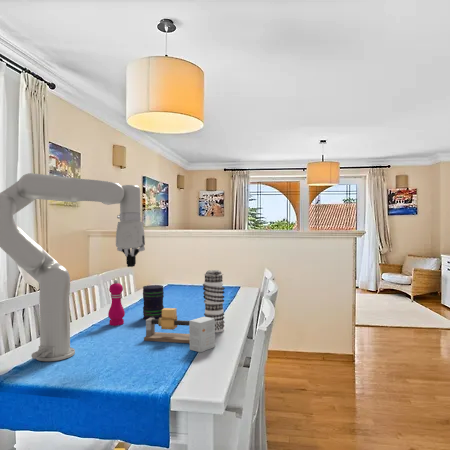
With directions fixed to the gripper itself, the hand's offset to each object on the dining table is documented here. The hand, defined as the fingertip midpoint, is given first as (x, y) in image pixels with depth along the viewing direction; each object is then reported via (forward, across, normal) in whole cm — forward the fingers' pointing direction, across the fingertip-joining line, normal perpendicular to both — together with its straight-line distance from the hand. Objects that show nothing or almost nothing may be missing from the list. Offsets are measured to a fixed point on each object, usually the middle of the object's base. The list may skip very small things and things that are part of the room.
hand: (131, 266), depth 152 cm
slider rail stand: (+29, +14, +8) cm, 33 cm away
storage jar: (+29, -8, +40) cm, 50 cm away
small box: (+29, +28, -1) cm, 41 cm away
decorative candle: (+29, +26, +24) cm, 46 cm away
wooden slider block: (+25, +12, +8) cm, 29 cm away
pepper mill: (+29, -20, +26) cm, 44 cm away
